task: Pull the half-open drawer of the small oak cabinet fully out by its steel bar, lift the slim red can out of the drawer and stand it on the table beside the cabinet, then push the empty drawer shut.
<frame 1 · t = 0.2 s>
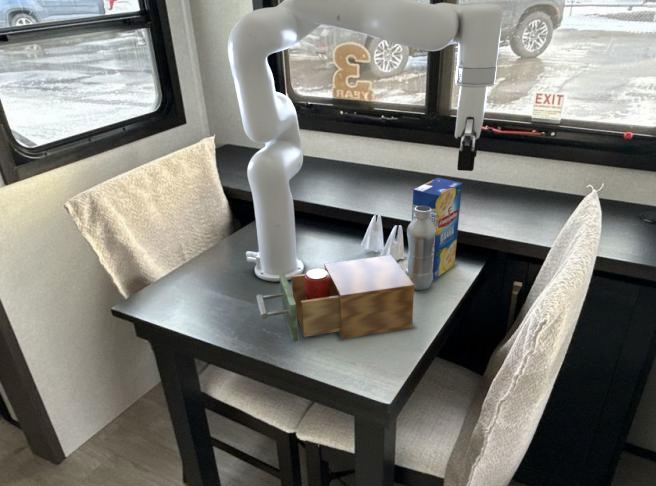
hand: (466, 163, 115), 31 cm above the table, tool pointing down, fingers open, 9 cm apart
cabinet: (367, 315, 122), on the table
plastic bottle: (418, 287, 133), on the table
shaker set: (382, 255, 149), on the table
can: (318, 315, 119), point 2 cm above the table, touching drawer
drawer: (306, 304, 117), point 5 cm above the table, slide at 9.0 cm, touching can
beverage box: (431, 269, 141), on the table
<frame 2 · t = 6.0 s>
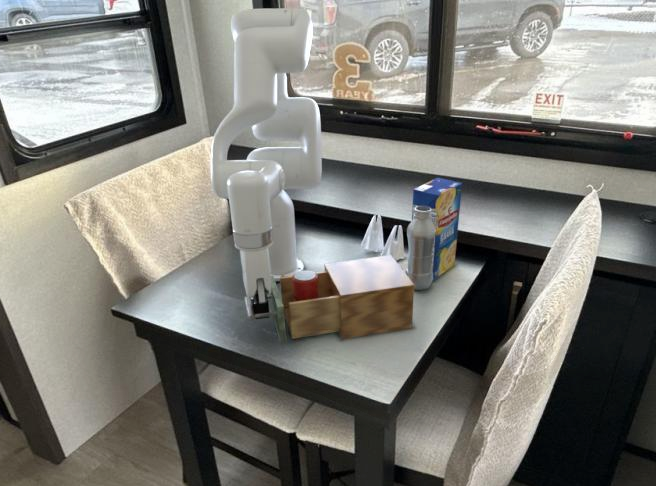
hand: (261, 316, 116), 4 cm above the table, tool pointing down, fingers closed
can: (307, 317, 119), point 2 cm above the table, touching drawer
drawer: (294, 306, 116), point 5 cm above the table, slide at 11.5 cm, touching can, gripper
everything else where it was.
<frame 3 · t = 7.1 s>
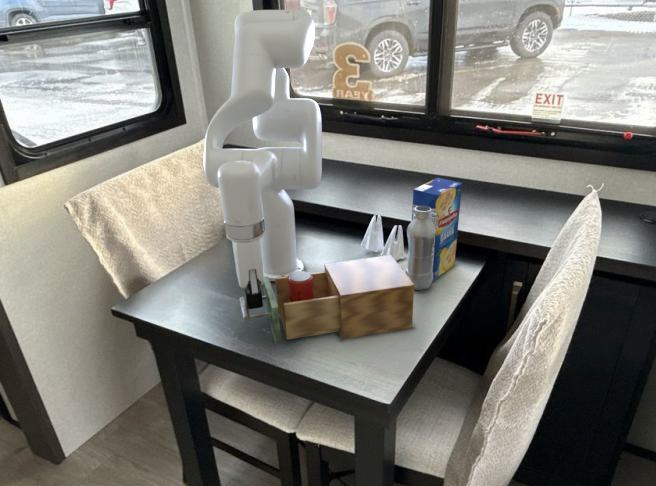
hand: (255, 306, 116), 6 cm above the table, tool pointing down, fingers closed
can: (302, 318, 118), point 2 cm above the table, touching drawer
drawer: (289, 306, 116), point 5 cm above the table, slide at 12.6 cm, touching can, gripper
everything else where it was.
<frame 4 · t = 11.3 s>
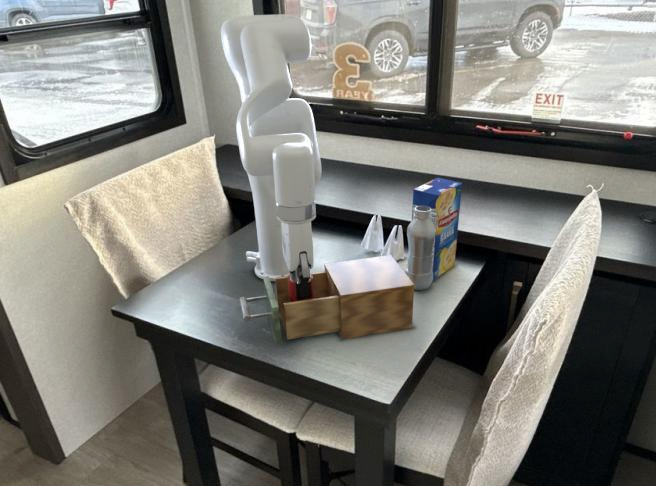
hand: (301, 290, 115), 9 cm above the table, tool pointing down, fingers closed on can, 5 cm apart
can: (302, 318, 118), point 2 cm above the table, touching drawer, gripper
drawer: (289, 306, 116), point 5 cm above the table, slide at 12.5 cm, touching can
everything else where it was.
when the fingers open (7 cm above the table, at t = 18.3 s): can stays where it is, on the table.
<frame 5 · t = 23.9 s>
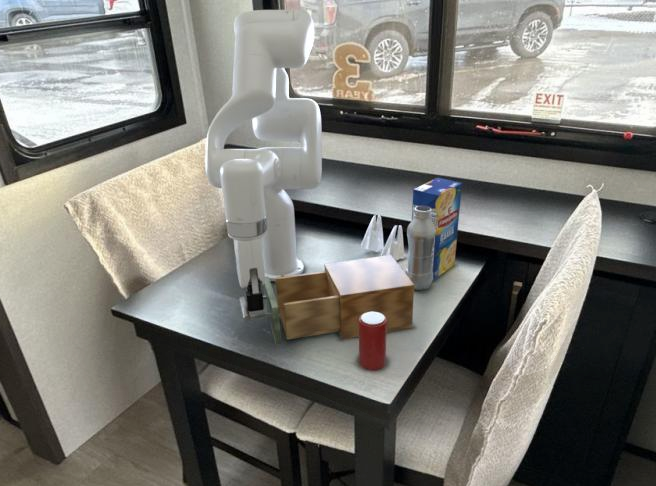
hand: (255, 308, 114), 6 cm above the table, tool pointing down, fingers closed
can: (372, 362, 108), on the table
drawer: (289, 306, 116), point 5 cm above the table, slide at 12.6 cm, touching gripper
everything else where it was.
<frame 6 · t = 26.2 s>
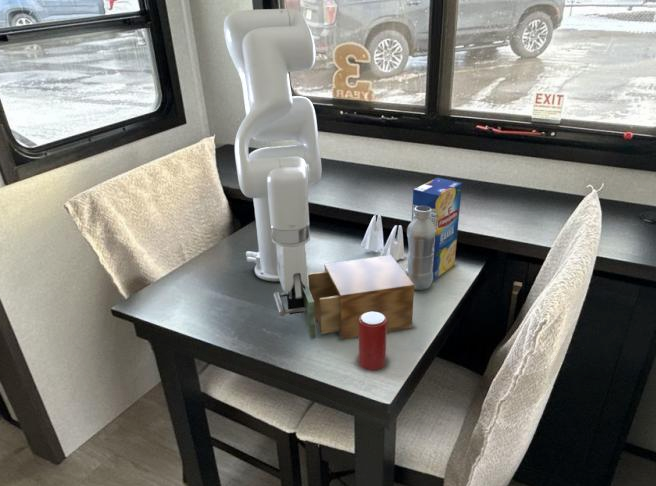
hand: (296, 311, 117), 4 cm above the table, tool pointing down, fingers closed
drawer: (323, 301, 118), point 5 cm above the table, slide at 5.3 cm, touching gripper
everything else where it was.
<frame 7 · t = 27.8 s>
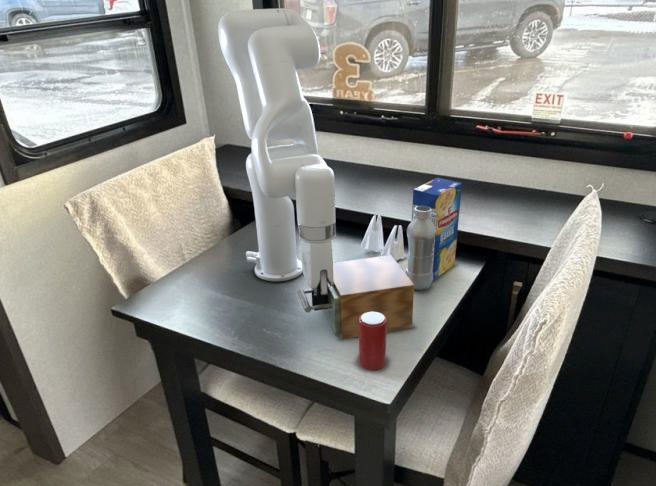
hand: (320, 307, 118), 4 cm above the table, tool pointing down, fingers closed
drawer: (347, 298, 119), point 5 cm above the table, slide at 0.0 cm, touching cabinet, gripper
everything else where it was.
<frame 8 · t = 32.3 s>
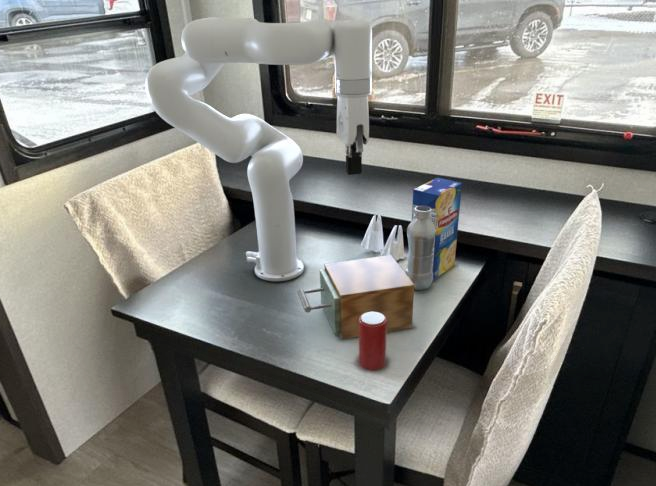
hand: (353, 173, 123), 27 cm above the table, tool pointing down, fingers closed
drawer: (347, 298, 119), point 5 cm above the table, slide at 0.0 cm, touching cabinet
everything else where it was.
at the end: can inside the target area (0.1 cm from its centre), on the table; drawer slide at 0.0 cm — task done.
